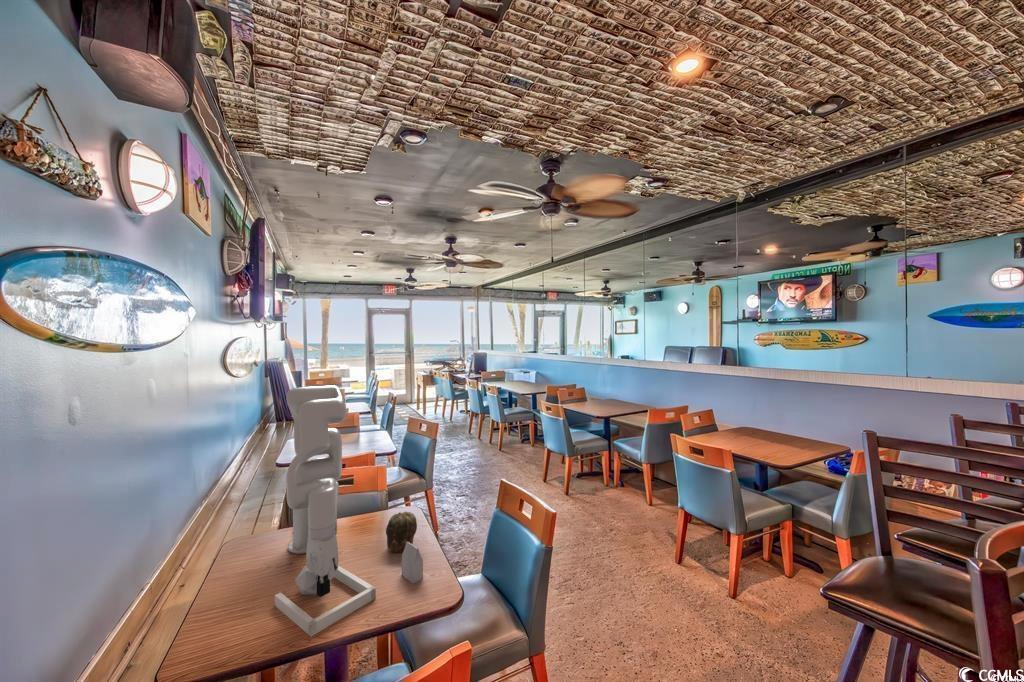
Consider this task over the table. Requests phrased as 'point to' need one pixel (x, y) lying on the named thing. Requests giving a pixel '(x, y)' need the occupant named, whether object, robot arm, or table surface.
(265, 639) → the table surface
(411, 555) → the grey faceted angular block
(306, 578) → the die
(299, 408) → the robot arm
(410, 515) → the shell
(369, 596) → the bay
